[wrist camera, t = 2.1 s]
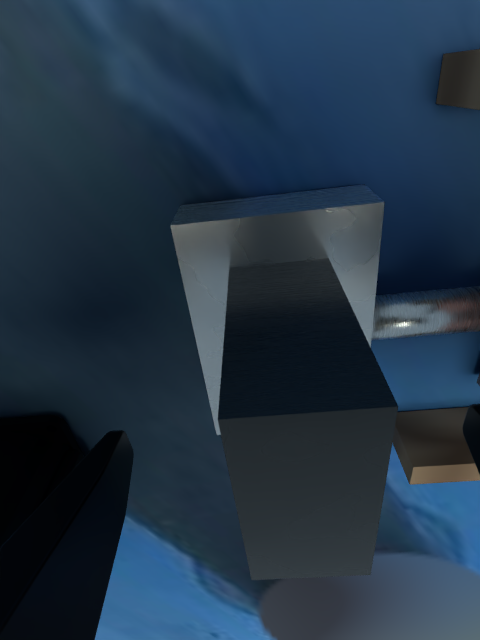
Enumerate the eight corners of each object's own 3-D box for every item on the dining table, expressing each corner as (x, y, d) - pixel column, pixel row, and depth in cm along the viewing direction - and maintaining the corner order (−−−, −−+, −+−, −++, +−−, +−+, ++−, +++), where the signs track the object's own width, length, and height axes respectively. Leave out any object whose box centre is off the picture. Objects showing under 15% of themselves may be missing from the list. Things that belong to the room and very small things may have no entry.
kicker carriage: (219, 400, 17) (203, 606, 11) (180, 205, 12) (104, 358, 6) (513, 377, 16) (701, 587, 10) (596, 157, 11) (1098, 272, 5)
